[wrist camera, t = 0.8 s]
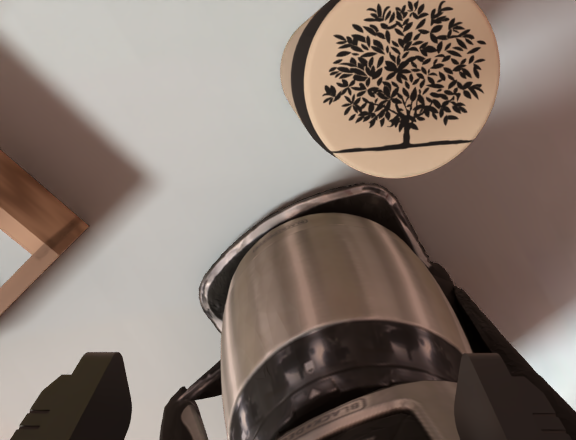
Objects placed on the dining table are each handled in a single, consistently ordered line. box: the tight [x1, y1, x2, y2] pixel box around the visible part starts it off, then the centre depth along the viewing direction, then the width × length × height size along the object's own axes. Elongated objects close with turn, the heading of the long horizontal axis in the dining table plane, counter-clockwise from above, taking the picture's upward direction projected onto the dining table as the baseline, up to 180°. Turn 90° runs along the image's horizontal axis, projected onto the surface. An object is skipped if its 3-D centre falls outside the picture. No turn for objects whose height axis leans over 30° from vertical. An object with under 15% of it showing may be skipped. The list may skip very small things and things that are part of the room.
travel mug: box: [280, 0, 500, 178], centre depth 27 cm, size 8×8×18 cm
